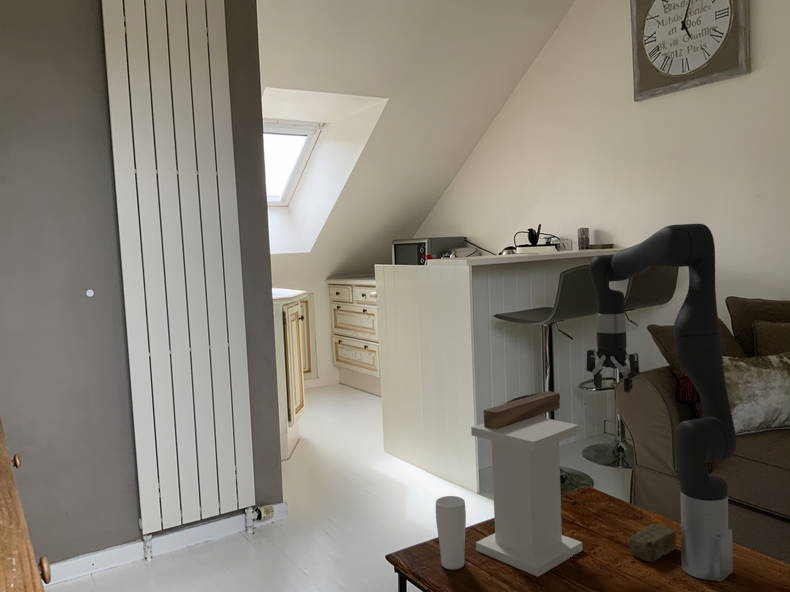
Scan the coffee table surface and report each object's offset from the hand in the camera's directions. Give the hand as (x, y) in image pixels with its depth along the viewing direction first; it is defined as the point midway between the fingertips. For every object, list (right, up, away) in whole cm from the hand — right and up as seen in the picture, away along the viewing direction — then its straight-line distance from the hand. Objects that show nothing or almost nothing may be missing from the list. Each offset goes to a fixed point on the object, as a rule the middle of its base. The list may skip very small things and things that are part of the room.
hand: (612, 389), depth 176 cm
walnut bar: (-27, -5, -15) cm, 31 cm away
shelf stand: (-27, -35, -21) cm, 49 cm away
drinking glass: (-45, -37, -26) cm, 64 cm away
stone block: (+1, -34, -24) cm, 42 cm away
